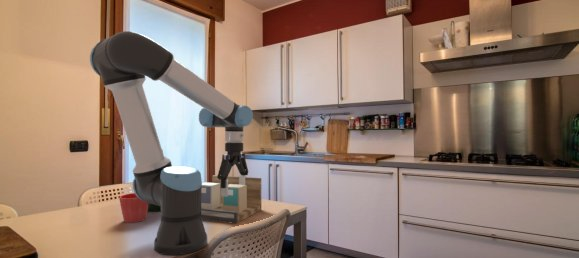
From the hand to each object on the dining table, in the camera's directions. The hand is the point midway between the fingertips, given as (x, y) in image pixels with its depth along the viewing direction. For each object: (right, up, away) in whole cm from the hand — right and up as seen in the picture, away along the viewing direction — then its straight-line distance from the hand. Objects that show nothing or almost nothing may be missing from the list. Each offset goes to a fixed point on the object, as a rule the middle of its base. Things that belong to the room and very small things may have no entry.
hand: (233, 193), depth 125 cm
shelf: (-4, -9, +3) cm, 11 cm away
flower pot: (-38, -9, -6) cm, 39 cm away
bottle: (-36, -9, +9) cm, 38 cm away
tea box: (0, -7, 0) cm, 7 cm away
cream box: (-12, -7, +5) cm, 15 cm away
